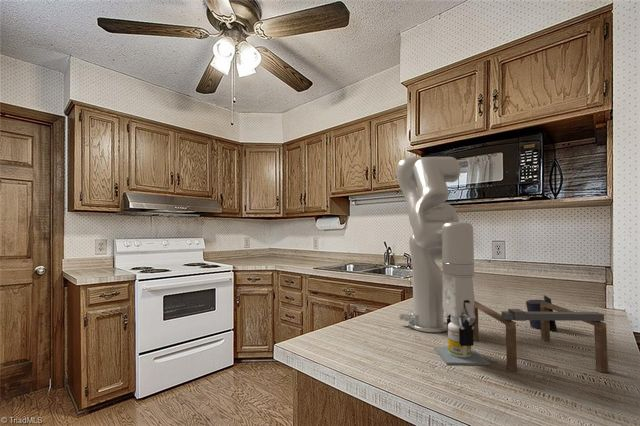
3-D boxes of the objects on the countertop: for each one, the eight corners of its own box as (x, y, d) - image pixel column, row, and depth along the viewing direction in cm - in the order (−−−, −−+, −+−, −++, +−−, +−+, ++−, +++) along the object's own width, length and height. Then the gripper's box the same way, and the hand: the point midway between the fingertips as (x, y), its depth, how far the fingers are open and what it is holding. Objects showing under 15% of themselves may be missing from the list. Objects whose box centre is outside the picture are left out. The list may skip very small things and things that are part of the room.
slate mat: (446, 364, 77) (446, 362, 77) (434, 348, 87) (434, 346, 87) (489, 365, 76) (489, 363, 76) (471, 349, 86) (471, 347, 86)
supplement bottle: (464, 349, 85) (464, 312, 85) (475, 358, 79) (474, 318, 80) (444, 350, 84) (444, 312, 85) (454, 358, 79) (453, 318, 79)
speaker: (558, 327, 104) (553, 294, 105) (557, 332, 100) (552, 298, 100) (530, 324, 109) (526, 294, 109) (528, 330, 104) (523, 298, 105)
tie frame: (510, 371, 73) (509, 322, 74) (471, 338, 94) (470, 301, 95) (608, 372, 72) (606, 323, 73) (546, 339, 93) (545, 301, 94)
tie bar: (507, 320, 74) (506, 311, 74) (500, 317, 77) (500, 308, 77) (605, 321, 73) (605, 312, 73) (595, 317, 76) (595, 309, 76)
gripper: (432, 265, 91) (434, 328, 91) (456, 275, 74) (457, 352, 73) (459, 265, 91) (461, 328, 90) (489, 275, 74) (491, 353, 73)
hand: (459, 338), depth 82 cm, fingers open, 7 cm apart
